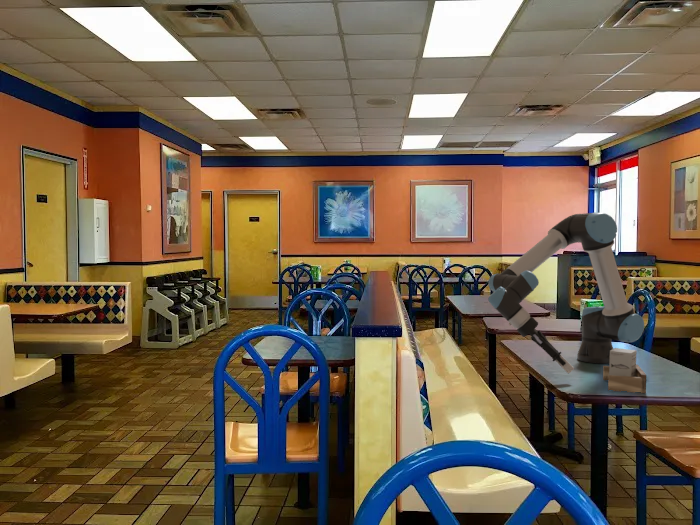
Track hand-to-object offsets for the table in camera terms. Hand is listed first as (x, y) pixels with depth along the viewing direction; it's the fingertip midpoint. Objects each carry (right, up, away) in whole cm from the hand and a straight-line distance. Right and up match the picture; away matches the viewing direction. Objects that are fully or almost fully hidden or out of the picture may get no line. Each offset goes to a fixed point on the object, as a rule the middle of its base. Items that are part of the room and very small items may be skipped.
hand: (571, 370), depth 208 cm
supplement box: (+16, -5, -4) cm, 18 cm away
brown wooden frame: (+16, -4, -5) cm, 17 cm away
